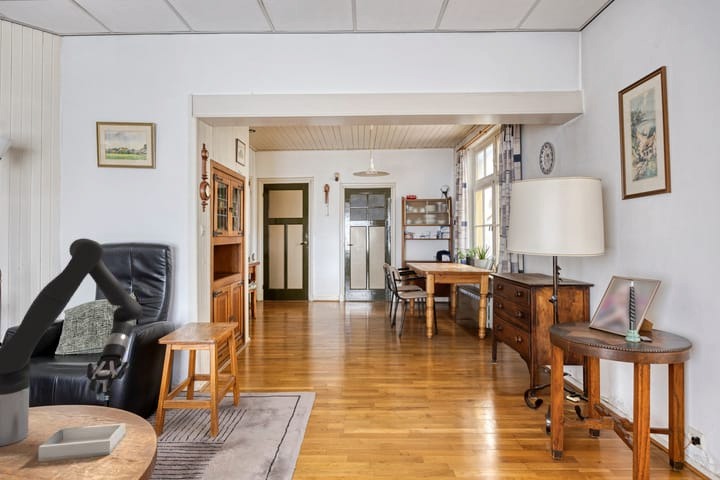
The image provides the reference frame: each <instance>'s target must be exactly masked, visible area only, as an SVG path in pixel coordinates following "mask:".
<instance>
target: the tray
mask: <svg viewBox="0 0 720 480" xmlns="http://www.w3.org/2000/svg"><path fill="white" fill-rule="evenodd" d="M125 437H126V422H123V423H113V424H100V425H89V426H88V425H87V426H76V427H75V426H74V427H64V428H60V429H59V430H58V431H57V432H55V433H54V434H53V435H52V436H51V437H49V438H48V439H47V440H45V441H44V442H43V443H42V444H40V445H39V446H38V458H37V459H38V460H37V461H38V462H48V461H49V462H50V461H58V460H59V461H61V460H68V459H69V460H70V459H78V458H89V457H101V456H109V455H111V454H112V453H113V451H114V450H115V449H116V448H117V447H118V445H120V443H121V442H122V441H123V439H124V438H125Z"/></svg>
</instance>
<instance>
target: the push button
mask: <svg viewBox="0 0 720 480" xmlns="http://www.w3.org/2000/svg"><path fill="white" fill-rule="evenodd" d="M94 374H95V373H94ZM111 375H112V373H110V371H109V370H101V371H98V374H95V379H96V380H98V381H97V382H99V383H98V389H97V390H96V395H95V396H96V397H95V398H96V400H97V401H108V400H109V397H110V391H107V389H106V387H107V384H108V381H109V379H111Z"/></svg>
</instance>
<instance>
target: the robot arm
mask: <svg viewBox="0 0 720 480" xmlns="http://www.w3.org/2000/svg"><path fill="white" fill-rule="evenodd" d="M68 249H69V255H70V256H71V258H70V260H69V262H68V263H67V265H66V267H64V269H63V270H62V271H61V272H60V273H59V274H58V275H57V276H55V277H54V278H53V279H52V280H51V281H50V282H48V283H47V284H45V286H44V287H43V288H42V289H41V291H40V292H39V293H38V294H37V296H36V297H35V298H34V300H33V301H32V303H31V305H30V306H29V308H28V309H27V311H26V313H25V315H24V317H23V318H22V320H21V323H20V324H19V326H18V327H17V329H16V330H15V332H14V333H13V335H11V337H10V338H9V339H8V340H7V342H6V343H5V344H3V345H2V346H1V347H0V447H2V446H8V445H12V444H16V443H18V442H21V441H23V440H25V439H26V438H27V437H28V436H29V423H30V422H29V417H30V415H29V413H30V379H31V378H30V377H31V355H32V354H33V352H34V350H35V348H36V346H37V345H38V343H39V341H40V340H41V339H42V337H43V336H44V335H45V333H46V332H47V331H48V330H49V329H50V328H51V327H52V325H53V324H54V323H55V322H56V320H57V319H58V317H60V315H61V314H62V313H63V312H64V310H65V309H66V307H67V305H68V304H69V303H70V301H71V299H72V298H73V296H74V295H75V293H76V292H77V291H78V289H79V287H80V285H81V284H82V283H83V281H84V280H85V278H86V277H87V276H88V275H89V276H90V277H91V278H92V280H93V281H94V282H95V284H96V286H97V287H98V288H99V289H98V290H100V292H101V293H102V295H103V296H104V297H105V299H106V300H107V301H108V303H109V304H110V305H111V306H115V307H116V309H115V310H114V311H113V315H112V328H111V331H110V333H109V336H108V338H107V340H106V342H105V345H104V347H103V350H102V352H101V354H100V357H99V360H97V362H96V363H95V362H94V363H91V362H90V363H89V362H88V364H87V373H86V377H87V379H88V381H90V383H89V386H88V389H89V391H90V392H91V393H92V392H93V393H94V392H95V390H96V387H97V385H98V382H99V381H98V380H96V379H95V374H98V371H101V370H109V371H110V373H112V375H111V378H110V379H108V381H107V387H106V389H107V391H108V392H110V391H111V390H112V389H113V388H114V385H115V382H116V381H117V380H121V379H123V377H124V375H125V374H126V373H127V371H128V369H130V368H129V367H130V363H129V362H128V361H123V360H124V357H125V354H126V353H127V352H126V351H127V349H128V346H129V340H130V338H131V334H132V331H133V326H132V324H131V323H129V322H131V321H136V320H138V319H140V318H141V317H142V316H143V314H144V313H143V312H144V311H143V310H144V309H143V307H142V305H141V304H140V303H139V302H138V301H137V300H135V299H134V298H133V297H132V296H131V295H129V294H128V293H127V291H126V290H125V288H124V286H123V285H122V284H121V281H119V280H118V279H117V277H116V276H115V275H114V274H113V273H112V272H111V271H110V269H109V268H108V267H107V266H106V264H105V263H104V262H103V260H102V258H103V255H104V248H103V245H102V244H101V243H99V242H98V241H95V240H92V239H89V238H78V239H75V240H74V241H72V242H71V244H70V246H69V248H68ZM96 368H97V369H96ZM118 369H119V371H118ZM94 371H95V373H94ZM117 371H118V372H117Z"/></svg>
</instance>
